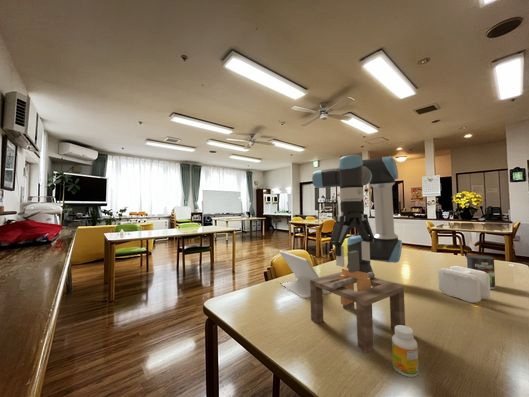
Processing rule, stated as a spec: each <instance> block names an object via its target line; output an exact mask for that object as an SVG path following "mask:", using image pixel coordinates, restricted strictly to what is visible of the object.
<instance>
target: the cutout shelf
mask: <svg viewBox="0 0 529 397" xmlns="http://www.w3.org/2000/svg"><path fill="white" fill-rule="evenodd" d="M339 275H342V271H341V272H340V271H339V272H336V273H332V274H328V275H323V276H320V277H319V276H318V277H319V278H315V279H311V280H310V296H311V297H310V320H311V321H313V322H315V323H317V324H319V323H321V322H323V321H324V296H323V295H324V294H323V289H324V290H326V291H329V292H330V293H332V294H334V295H336V296H339V297H340V298H341V297H344V298H346V299H349V300H351V301H354V302H351V303H349V304H347V305H342V308H343V309H345V310H347V311H351V310H356V340H357V341H356V342H357V348H359V349H360V350H362V351H363V352H365V353H369V352H371V351H372V350H374V324H373V322H374V320H373V317H374V316H373V304H375V303H377V302H379V301H382V300H385V299H387V298H389V312H390V313H389V314H390V330H391V331H394V332H395V326H397V325H403V326H406V310H405V286H404V285H401V284H397V283H393V282H389V281H386V280H383V279H379V278H376V277H375V276H376V275H375V272H374V271H373V272H369V273H367V278H370V281H371V288H369V289H366V290H363V291H360V292H357V290H355V284H357V280H359V279H356V278H353V277H351V278H347V279H344V280H340V277H339ZM350 284H353V290H351V289H349V288H346V287H343V286H347V285H350ZM355 307H356V308H355Z"/></svg>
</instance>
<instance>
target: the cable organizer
mask: <svg viewBox="0 0 529 397" xmlns="http://www.w3.org/2000/svg"><path fill="white" fill-rule="evenodd" d="M437 274H438V275H437V279H438V280H437V282H438V290H439V291H440V292H441V293H443V294H444V295H446V296H449V297H451V298H453V297H455V298H457V299H461V300H462V301H463V302H467V303H472V304H473V303H479V302H481V300H487V299H489V298H491V297H492V296H491V289H490V277H489V275H488V274H487V273H486V272H483V271H479V270H474V269H469V268H466V267H464V266H459V265H452V266H450V267H449V268H447V267H441V268H439V269H438V270H437Z"/></svg>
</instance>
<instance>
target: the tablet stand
mask: <svg viewBox="0 0 529 397" xmlns="http://www.w3.org/2000/svg"><path fill="white" fill-rule="evenodd" d="M278 252H279V254H280V255H281V257H282V258H283V259H284V261H285V262H286V265H287V266H288V267H289V268H290V269H291V271H292V273H293V274H294V276H295V277H294V278H297V279H298V280H297V281H294V282H288V283H287V282H286V283H283V284H282V285H283V286H285V287H286V288H288V289H289V290H288V289H287V290H288V291H290V290H291V291H292V292H291V291H290V292H291V293H293V294H295V295H297V297H300V298H302V299H303V298H305V299H308V298H311V296H310V280H311V279H315V278H319V275H318V274H317V272H316V270H315V269H314V268H313V266H312V265H311V262H310V261H309V259H307V258H305V257H300V256H298V255H295V254H292V253H290V252H287V251H284V250H281V249H280V250H279V251H278ZM282 285H281V286H282ZM283 286H282V287H283ZM285 287H284V288H285ZM286 288H285V289H286ZM330 293H331V292H329V291H326V290H324V289H323V295H326V294H330Z"/></svg>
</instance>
